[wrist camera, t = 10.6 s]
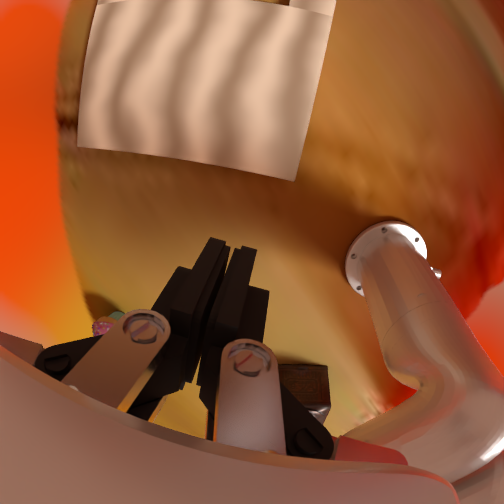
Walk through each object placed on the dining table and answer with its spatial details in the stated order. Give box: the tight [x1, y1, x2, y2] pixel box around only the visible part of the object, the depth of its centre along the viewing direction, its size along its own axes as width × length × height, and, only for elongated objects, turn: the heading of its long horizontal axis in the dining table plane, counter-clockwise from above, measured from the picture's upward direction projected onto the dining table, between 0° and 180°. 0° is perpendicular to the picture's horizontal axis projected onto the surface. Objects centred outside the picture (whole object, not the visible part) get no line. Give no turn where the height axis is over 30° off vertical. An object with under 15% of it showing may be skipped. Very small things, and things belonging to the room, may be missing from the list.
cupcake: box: [92, 311, 125, 336], centre depth 46 cm, size 9×8×12 cm
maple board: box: [77, 0, 336, 182], centre depth 27 cm, size 30×32×2 cm
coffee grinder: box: [278, 364, 331, 425], centre depth 46 cm, size 16×11×18 cm
